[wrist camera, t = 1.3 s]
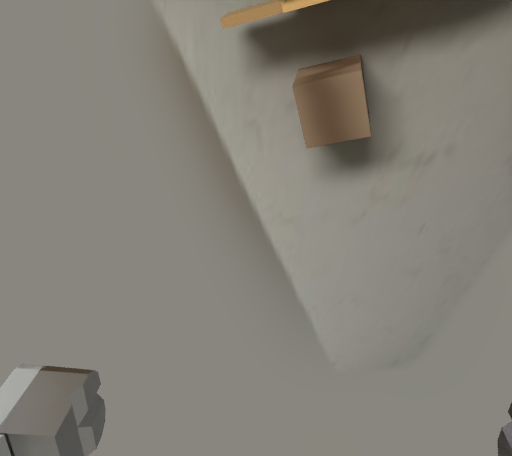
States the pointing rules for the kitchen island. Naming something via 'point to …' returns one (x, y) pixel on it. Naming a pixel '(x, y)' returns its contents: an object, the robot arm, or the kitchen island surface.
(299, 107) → the walnut block
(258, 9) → the side door
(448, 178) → the kitchen island surface
